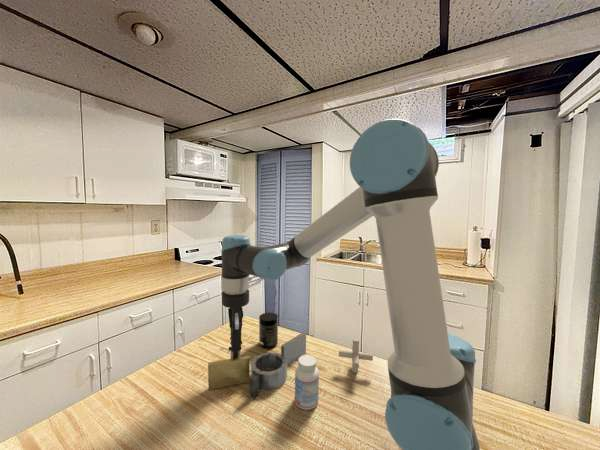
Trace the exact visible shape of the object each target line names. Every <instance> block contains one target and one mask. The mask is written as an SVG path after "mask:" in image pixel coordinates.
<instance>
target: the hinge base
mask: <svg viewBox="0 0 600 450" xmlns="http://www.w3.org/2000/svg"><path fill="white" fill-rule="evenodd" d="M280 347H281V348H280V351H281V352H280V353H278V352H271V351H269V352H263V353H260V354H258V355H256V356H255V357H254V358H253V360H252V361H251V363H250V382H249V396H250V398H251V399H252V400H256V398H258V397H259V396H260V395H259V394H260V393H259V392H260V391H259V390H261V391H272V390H276V389H279V388H280V387H282V386H283V385H284V384H285V383H286V381H287V378H288V367H289V366H290V365H291V364H292V363H294V362H295V361H298V359H299V358H300V357H301V356H303V355H306V353H307V333H306V332H305V331H303V332H301V333H299V334H298V335H296V336H294V337H293V338H291V339H290V340H288V341H286V342H284V343H283V344H282V345H280ZM268 369H270V370H272V371H265V370H268Z"/></svg>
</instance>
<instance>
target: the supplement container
mask: <svg viewBox="0 0 600 450" xmlns="http://www.w3.org/2000/svg"><path fill="white" fill-rule="evenodd" d="M258 322H259V323H258V326H259V327H258V331H259V333H258V341H259V342H258V344H259V346H260V348H262V349H266V350H267V349H268V350H270V349H274V348H275V347H276V346H277V345H278V342H279V341H278V340H279V339H278V338H279V336H278V332H279V326H278V325H279V324H278V323H279V315H278V314H277V313H274V312H263V313H262V314H260V315H259V317H258Z"/></svg>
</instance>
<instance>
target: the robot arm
mask: <svg viewBox="0 0 600 450" xmlns="http://www.w3.org/2000/svg"><path fill="white" fill-rule="evenodd" d="M438 156H439V155H438V154H437V151H436V149H435V147H434V146H433V145H432V144H431V142H430V141H429V140H428V138H427V135H426V133H425V132H424V131H423V130H422V129H421V128H420V127H419V126H417V125H415V124H414V123H411V122H410V121H408V120H405V119H402V118H401V119H400V118H388V119H384V120H381V121H378V122H376V123H374V124H372V125H371V126H369V127H368V128H367V129H365V130H364V131H363V132H362V133H361V134H360V135H359V137H358V138H357V140H356V142H354V144H353V146H352V149H351V152H350V156H349V170H350V174H351V176H352V178H353V180H354V181H355V182H356V184H357V185H358V188H356V189H355V190H354V191H353V192H351V193H350V194H349V195H347V196H346V197H345V198H344V199H341V200H340V201H339V202H338V203H337V204H335V205H334V206H333V207H332V208H330V209H329V210H327V211H326V212H325V213H323V214H322V215H321V216H320V217H318V218H317V219H316V220H315V221H313V222H312V223H311V224H310V225H308V226H307V227H305V228H304V229H303V230H302V231H300V232H299V233H298V234H296V235H295V236H294V237H293V238H291V239H290V240H289V241H287V242H285V243H284V242H283V243H279V244H273V245H268V246H255V245H251V241H250V237H249V236H248V235H242V234H241V235H239V234H235V235H234V234H232V235H231V234H230V235H226V236H224V237H223V238H222V243H221V251H220V252H221V290H222V292H221V305H222V306H223V307H225V308H227V309H228V310H227V313H228V323H229V328H230V338H229V339H230V346H228V351H229V352H230V359H232V358H238V357H241V350H242V345H243V341H242V329H243V328H242V327H243V318H244V310H243V307H245V306H247V305H248V304H249V303H250V290H249V289H250V282H251V281H252V277H250V276H253V277H256V278H260V279H261V280H262V279H263V280H270V281H276V280H279V279H280V278H281V277H282V275H284V273H285V272H286V271H287V270H290V269H293V268H296V267H297V268H298V267H301V266H303V265H305V264H307V263H308V262H309V261H310V260H311V258H312V257H313V256H315V255H316V254H318V253H320V251H323V250H324V249H326V248H327V247H328V246H330V245H331V244H333V243H334V242H337V240H339V239H341V238H342V237H344V236H345V235H347V234H348V233H349V232H351V231H352V230H354V229H356V228H357V227H358V226H360V225H362V224H363V223H365V222H367V221H368V220H369V219H371V218H372V217H374V218H375V223H376V229H377V236H378V245H379V250H380V258H381V265H382V271H383V279H384V284H385V286H384V287H385V292H386V299H387V306H388V316H389V320H390V328H391V334H392V335H391V336H392V341H393V348H394V351H393V352H392V353H391V354H390V355H389V356H388V358H387V371H388V378H389V385H390V386H389V387H390V398H388V399H387V401H386V404H385V413H384V418H385V419H384V420H385V423H386V424H385V425H386V428H387V430H388V432H389V434H390V435H391V437H392V439H393V441H394V442H395V444H397V446H398V447H400V448H401V450H480V449H481V448H480V443H479V439H478V437H477V433H476V429H475V426H474V423H473V419H474V418H473V415H474V413H473V412H474V381H475V366H476V365H475V363H476V362H477V360H476V350H475V348H474V347H473V345H472V344H470V343H469V342H468V341H466V340H465V339H463V338H461V337H459V336H456V335H454V334H451V333H448V327H447V321H446V319H447V318H446V314H445V313H446V312H445V306H444V300H443V299H444V298H443V292H442V287H441V279H440V272H439V266H438V260H437V254H436V246H435V239H434V238H435V237H434V233H433V227H432V220H431V213H430V210H431V208H432V207H433V205H435V203H436V202H437V200H438V199H439V195H438V189H437V188H438V187H437V186H438V185H437V181H436V176H437V174H438V171H439V165H440V164H439V157H438Z"/></svg>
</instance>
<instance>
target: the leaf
mask: <svg viewBox="0 0 600 450" xmlns="http://www.w3.org/2000/svg"><path fill="white" fill-rule="evenodd" d="M250 378H251V363H250V355H246V356H245V355H244V356H240V357H238V358H232V359H231V358H228V359H222V360H217V361H216V360H214V361H210V362H208V363H207V380H208V381H207V382H208V383H207V384H208V391H210V390H214V389H219V388H225V387H230V386H234V385H235V386H236V385H240V384H241V385H242V384H245V383H250Z"/></svg>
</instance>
